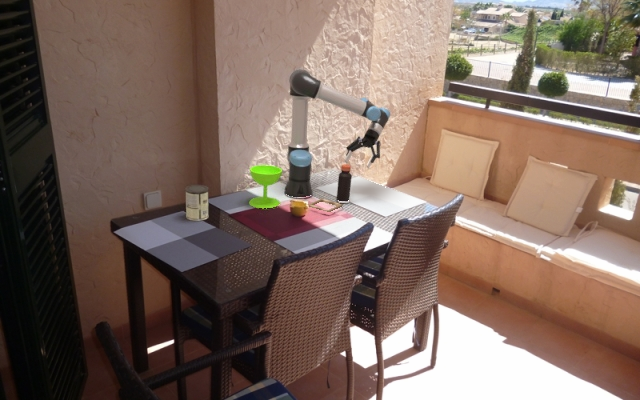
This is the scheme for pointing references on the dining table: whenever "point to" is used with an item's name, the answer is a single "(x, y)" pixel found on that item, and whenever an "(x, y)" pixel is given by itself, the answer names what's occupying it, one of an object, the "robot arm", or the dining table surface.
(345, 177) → the vinegar
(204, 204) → the coffee can
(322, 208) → the tray
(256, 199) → the wineglass
